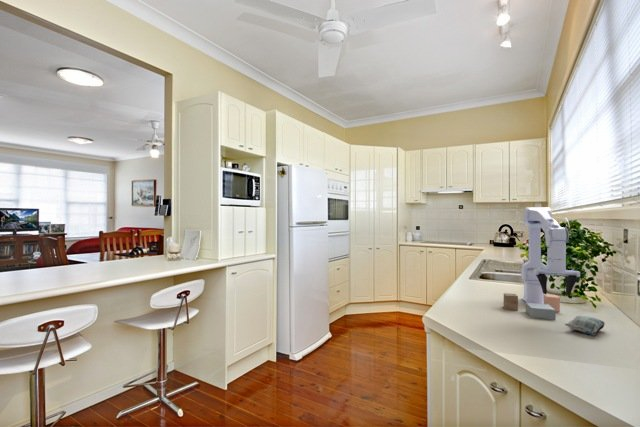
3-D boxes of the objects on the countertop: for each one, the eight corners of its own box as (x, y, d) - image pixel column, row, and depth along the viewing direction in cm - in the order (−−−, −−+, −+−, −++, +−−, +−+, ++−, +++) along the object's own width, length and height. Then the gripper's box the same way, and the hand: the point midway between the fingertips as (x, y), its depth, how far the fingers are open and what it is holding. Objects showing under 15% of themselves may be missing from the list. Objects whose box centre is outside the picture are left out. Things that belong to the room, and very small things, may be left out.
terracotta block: (543, 308, 141) (543, 294, 141) (555, 309, 140) (555, 295, 140) (547, 311, 137) (547, 296, 137) (559, 312, 135) (559, 297, 135)
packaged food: (564, 331, 113) (565, 317, 113) (575, 324, 121) (575, 311, 121) (596, 339, 107) (597, 324, 107) (605, 331, 114) (605, 317, 114)
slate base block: (525, 312, 136) (525, 302, 136) (548, 314, 133) (548, 304, 133) (531, 318, 128) (531, 307, 128) (555, 320, 126) (555, 309, 126)
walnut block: (503, 306, 143) (503, 293, 143) (515, 307, 142) (515, 293, 142) (505, 309, 139) (505, 295, 139) (517, 310, 138) (517, 296, 138)
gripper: (537, 259, 123) (537, 295, 123) (584, 261, 118) (583, 298, 118) (532, 257, 130) (532, 291, 130) (575, 258, 125) (575, 293, 125)
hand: (556, 294), depth 124 cm, fingers open, 7 cm apart
